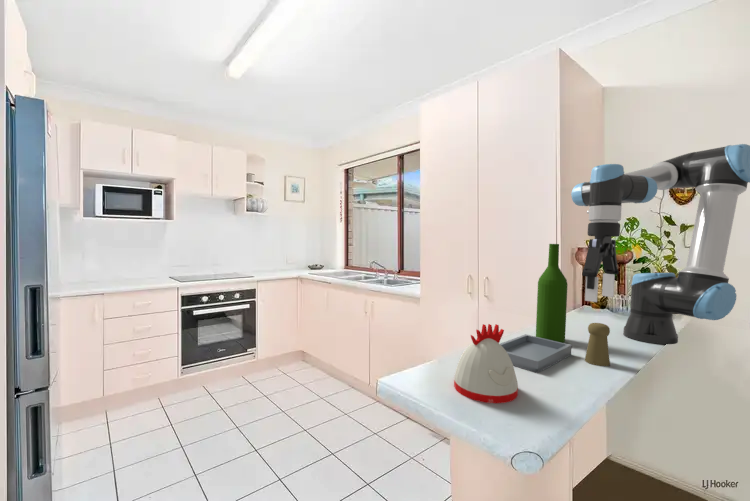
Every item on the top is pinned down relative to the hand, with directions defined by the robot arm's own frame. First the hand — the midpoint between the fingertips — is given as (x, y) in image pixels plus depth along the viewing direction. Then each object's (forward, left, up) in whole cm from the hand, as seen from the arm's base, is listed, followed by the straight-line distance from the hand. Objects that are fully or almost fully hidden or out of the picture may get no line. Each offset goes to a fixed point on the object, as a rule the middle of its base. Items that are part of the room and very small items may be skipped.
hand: (599, 298), depth 99 cm
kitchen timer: (+40, +11, -18) cm, 45 cm away
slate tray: (+16, -7, -18) cm, 25 cm away
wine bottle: (-1, -21, -18) cm, 28 cm away
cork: (0, 0, -18) cm, 18 cm away
